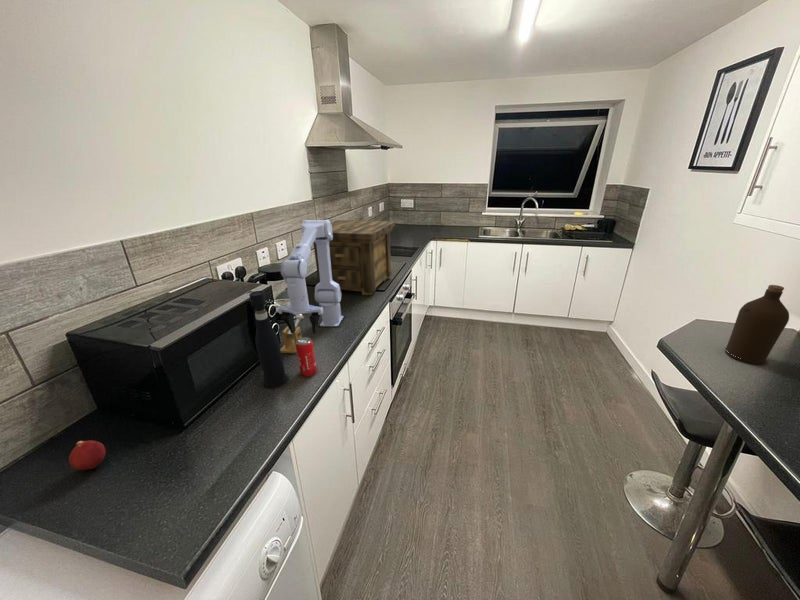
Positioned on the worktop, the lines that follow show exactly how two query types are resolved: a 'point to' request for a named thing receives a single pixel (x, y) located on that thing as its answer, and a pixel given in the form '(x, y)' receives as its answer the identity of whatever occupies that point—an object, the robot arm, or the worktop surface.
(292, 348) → the bracket
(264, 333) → the black bottle
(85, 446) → the onion
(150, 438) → the worktop surface
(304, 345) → the beverage can
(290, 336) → the tap lever
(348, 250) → the crate
